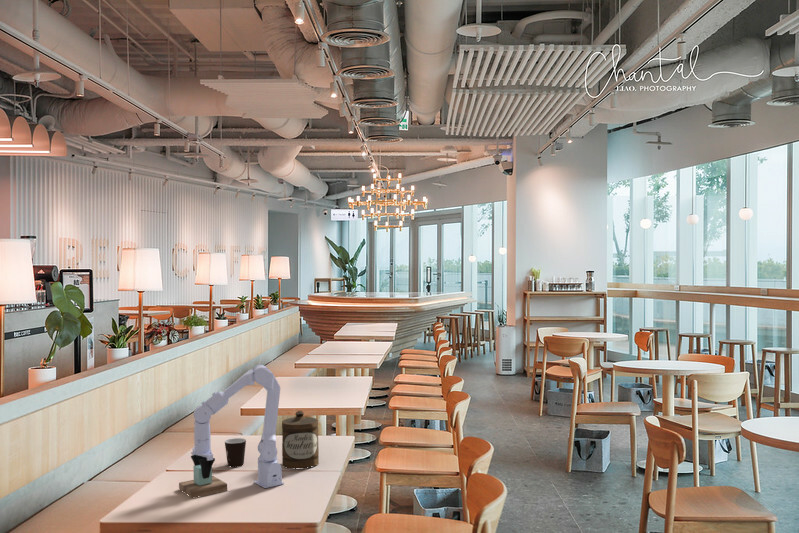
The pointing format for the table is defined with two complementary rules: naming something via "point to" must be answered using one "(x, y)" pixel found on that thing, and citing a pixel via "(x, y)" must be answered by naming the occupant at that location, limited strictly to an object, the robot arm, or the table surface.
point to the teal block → (198, 476)
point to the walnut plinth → (203, 487)
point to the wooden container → (300, 441)
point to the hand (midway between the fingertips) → (202, 476)
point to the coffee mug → (235, 451)
